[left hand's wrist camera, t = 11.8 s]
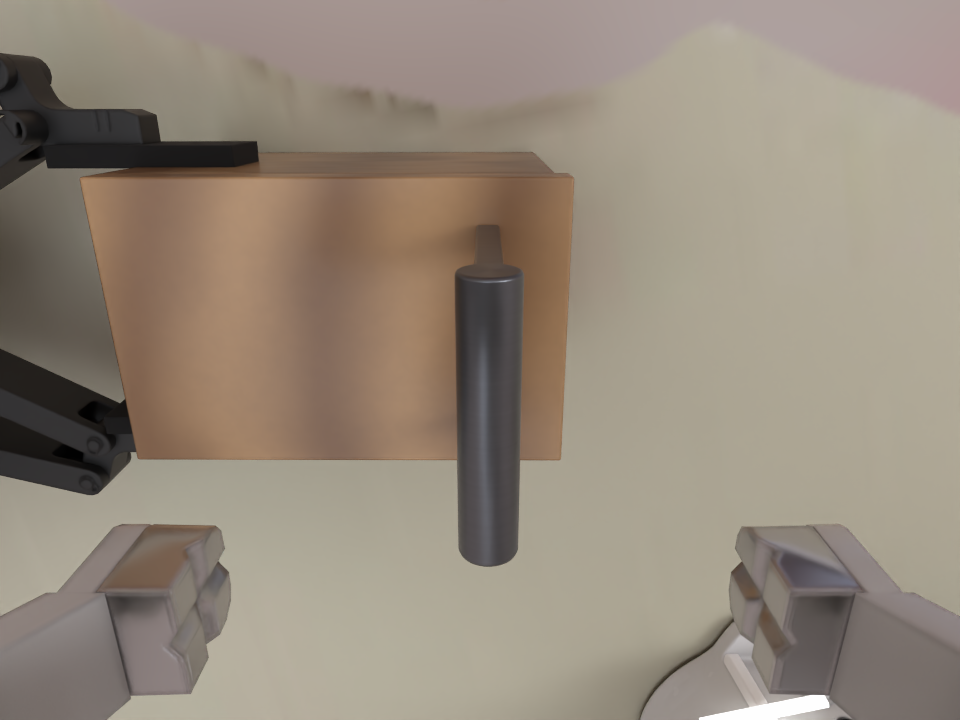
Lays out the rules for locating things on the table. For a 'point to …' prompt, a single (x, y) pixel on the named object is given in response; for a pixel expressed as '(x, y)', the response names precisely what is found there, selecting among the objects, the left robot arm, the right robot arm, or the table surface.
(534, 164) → the chest
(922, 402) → the table surface
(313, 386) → the lid
